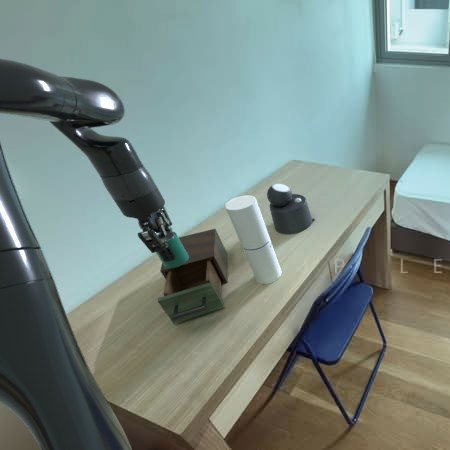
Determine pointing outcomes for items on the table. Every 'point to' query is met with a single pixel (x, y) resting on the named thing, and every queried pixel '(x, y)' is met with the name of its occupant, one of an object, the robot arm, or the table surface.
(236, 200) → the cylindrical container
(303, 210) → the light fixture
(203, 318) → the table surface
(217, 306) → the drawer
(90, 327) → the table surface
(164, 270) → the cabinet
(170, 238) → the can
